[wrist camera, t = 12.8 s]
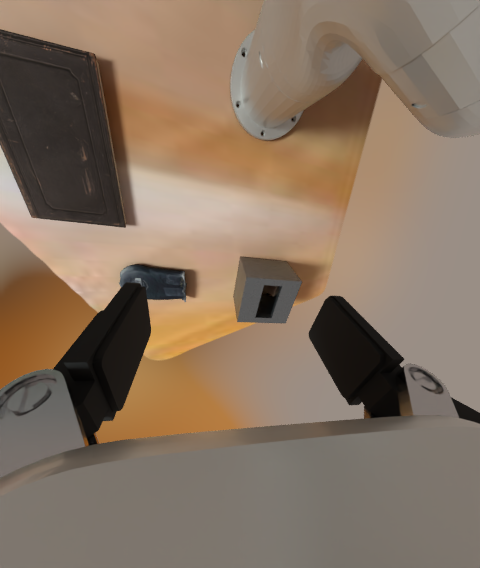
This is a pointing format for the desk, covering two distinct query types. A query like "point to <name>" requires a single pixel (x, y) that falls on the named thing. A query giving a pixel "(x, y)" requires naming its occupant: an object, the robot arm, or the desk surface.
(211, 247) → the desk surface
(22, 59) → the hardcover book
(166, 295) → the electronic device
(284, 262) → the slot box
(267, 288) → the block
